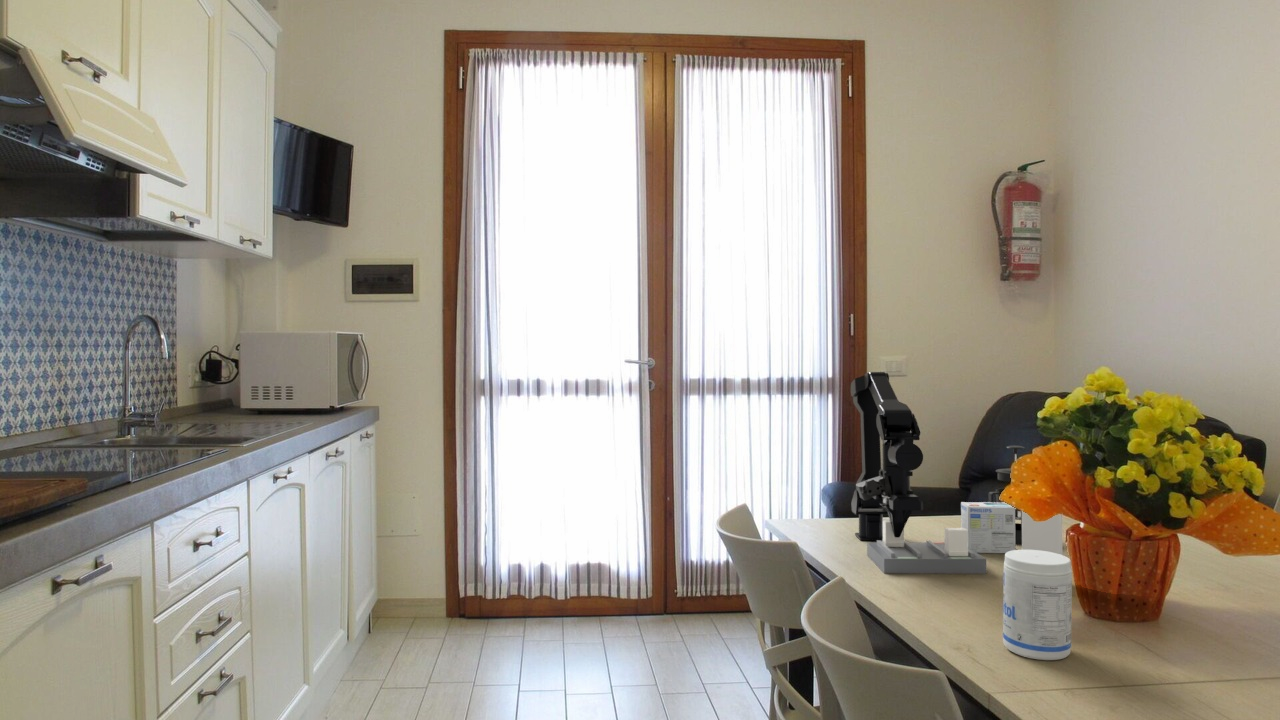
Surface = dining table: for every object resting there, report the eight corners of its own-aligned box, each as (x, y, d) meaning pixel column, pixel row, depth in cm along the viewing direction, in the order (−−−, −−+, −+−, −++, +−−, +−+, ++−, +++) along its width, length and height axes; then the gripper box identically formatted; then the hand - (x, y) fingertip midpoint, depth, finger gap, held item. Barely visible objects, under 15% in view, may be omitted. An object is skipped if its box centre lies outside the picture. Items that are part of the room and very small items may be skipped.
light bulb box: (1006, 547, 196) (1006, 501, 196) (1016, 554, 189) (1016, 506, 189) (959, 546, 197) (959, 501, 197) (968, 553, 190) (968, 506, 190)
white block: (882, 543, 187) (882, 519, 186) (900, 543, 186) (900, 519, 186) (885, 546, 184) (885, 522, 184) (904, 546, 183) (904, 522, 183)
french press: (1027, 535, 208) (1027, 443, 207) (1047, 544, 198) (1047, 447, 198) (981, 536, 207) (981, 444, 207) (999, 545, 198) (999, 448, 197)
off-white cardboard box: (1061, 581, 167) (1061, 486, 166) (1062, 590, 160) (1062, 492, 160) (1022, 577, 170) (1021, 484, 169) (1021, 586, 163) (1021, 490, 163)
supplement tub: (992, 640, 133) (992, 548, 133) (1051, 639, 134) (1051, 548, 133) (1021, 663, 124) (1021, 564, 123) (1084, 662, 124) (1084, 563, 124)
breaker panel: (867, 555, 188) (867, 538, 188) (961, 555, 188) (961, 538, 188) (884, 573, 173) (884, 555, 173) (986, 573, 173) (986, 555, 173)
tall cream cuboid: (944, 552, 178) (944, 527, 178) (963, 552, 178) (963, 527, 178) (948, 556, 175) (948, 530, 175) (968, 556, 175) (968, 530, 175)
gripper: (849, 461, 192) (850, 529, 192) (869, 470, 173) (870, 545, 173) (898, 461, 191) (899, 529, 191) (923, 470, 173) (924, 545, 173)
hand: (896, 537), depth 182 cm, fingers closed
